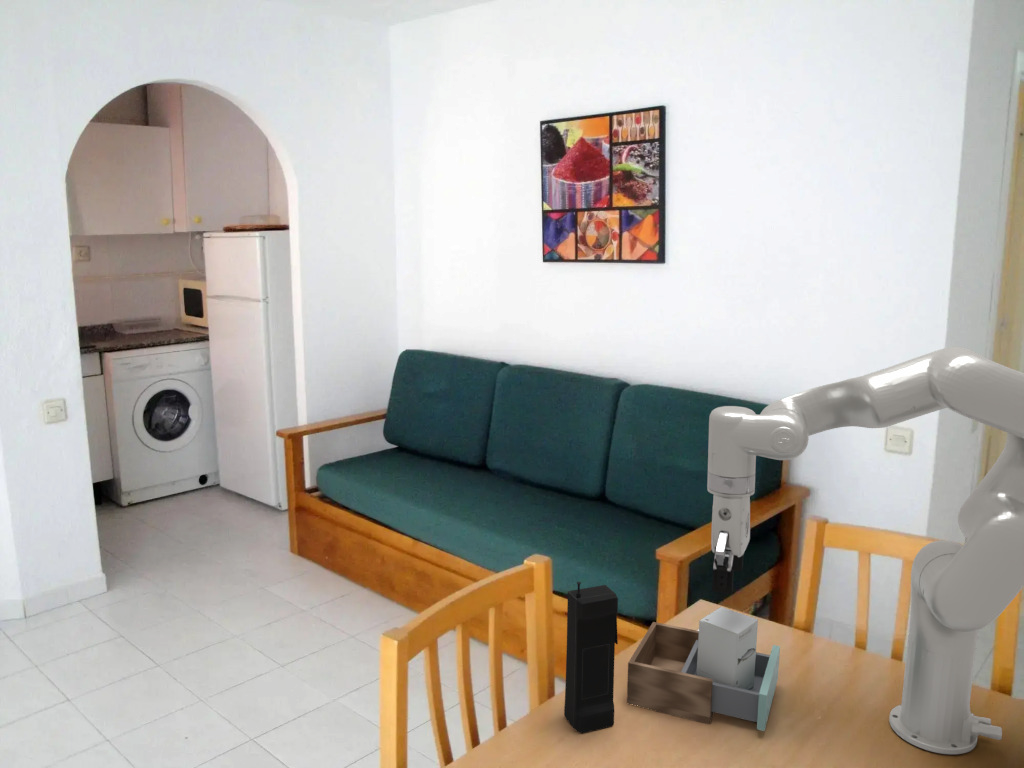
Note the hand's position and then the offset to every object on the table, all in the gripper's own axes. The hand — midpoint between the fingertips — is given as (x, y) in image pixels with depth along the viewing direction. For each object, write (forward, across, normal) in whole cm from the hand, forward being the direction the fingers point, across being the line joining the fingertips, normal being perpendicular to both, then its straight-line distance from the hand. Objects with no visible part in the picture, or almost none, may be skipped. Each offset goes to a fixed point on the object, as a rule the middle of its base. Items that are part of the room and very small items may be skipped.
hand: (727, 580), depth 136 cm
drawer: (+20, 0, -1) cm, 20 cm away
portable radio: (+22, -15, +19) cm, 32 cm away
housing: (+22, 0, +8) cm, 23 cm away
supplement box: (+20, 0, 0) cm, 20 cm away
